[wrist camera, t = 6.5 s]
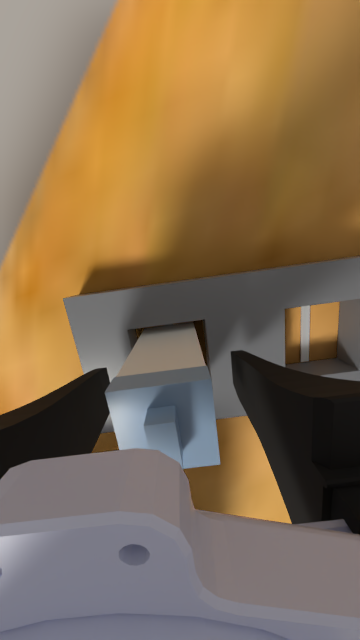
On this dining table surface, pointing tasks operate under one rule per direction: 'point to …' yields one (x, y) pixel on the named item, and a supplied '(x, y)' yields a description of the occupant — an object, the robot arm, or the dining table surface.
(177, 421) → the plug
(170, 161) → the dining table surface
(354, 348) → the socket strip
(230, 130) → the dining table surface
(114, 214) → the dining table surface
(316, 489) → the robot arm
